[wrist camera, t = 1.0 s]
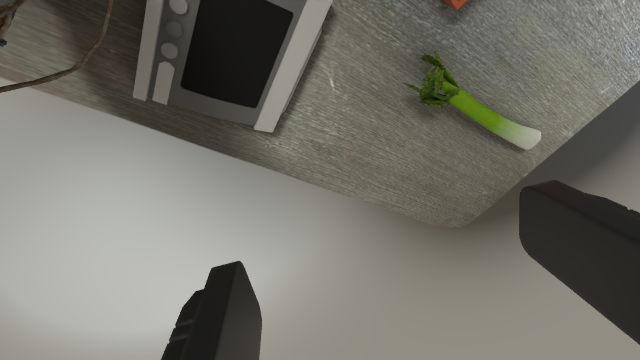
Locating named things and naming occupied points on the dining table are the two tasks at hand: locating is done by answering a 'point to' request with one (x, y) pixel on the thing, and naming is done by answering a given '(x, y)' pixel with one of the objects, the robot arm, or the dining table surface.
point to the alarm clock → (227, 55)
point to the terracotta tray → (454, 3)
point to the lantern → (3, 4)
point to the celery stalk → (471, 106)
